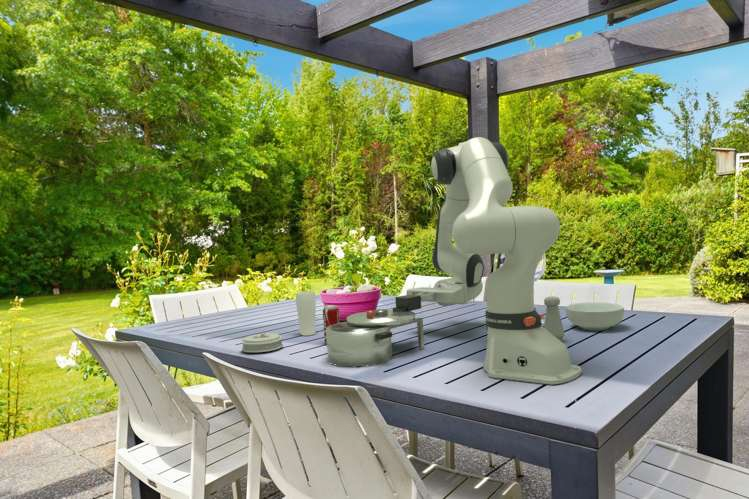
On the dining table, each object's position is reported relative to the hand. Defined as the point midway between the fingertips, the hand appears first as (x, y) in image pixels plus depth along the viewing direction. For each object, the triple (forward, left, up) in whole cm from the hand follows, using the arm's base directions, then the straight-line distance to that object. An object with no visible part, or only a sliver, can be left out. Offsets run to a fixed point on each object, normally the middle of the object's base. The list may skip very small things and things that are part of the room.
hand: (418, 298), depth 161 cm
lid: (+35, +36, -14) cm, 52 cm away
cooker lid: (0, +14, -4) cm, 15 cm away
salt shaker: (-35, -18, -14) cm, 42 cm away
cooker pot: (0, +21, -13) cm, 25 cm away
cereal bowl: (-37, -41, -14) cm, 57 cm away
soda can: (+22, +18, -14) cm, 31 cm away
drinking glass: (+41, +14, -14) cm, 45 cm away
